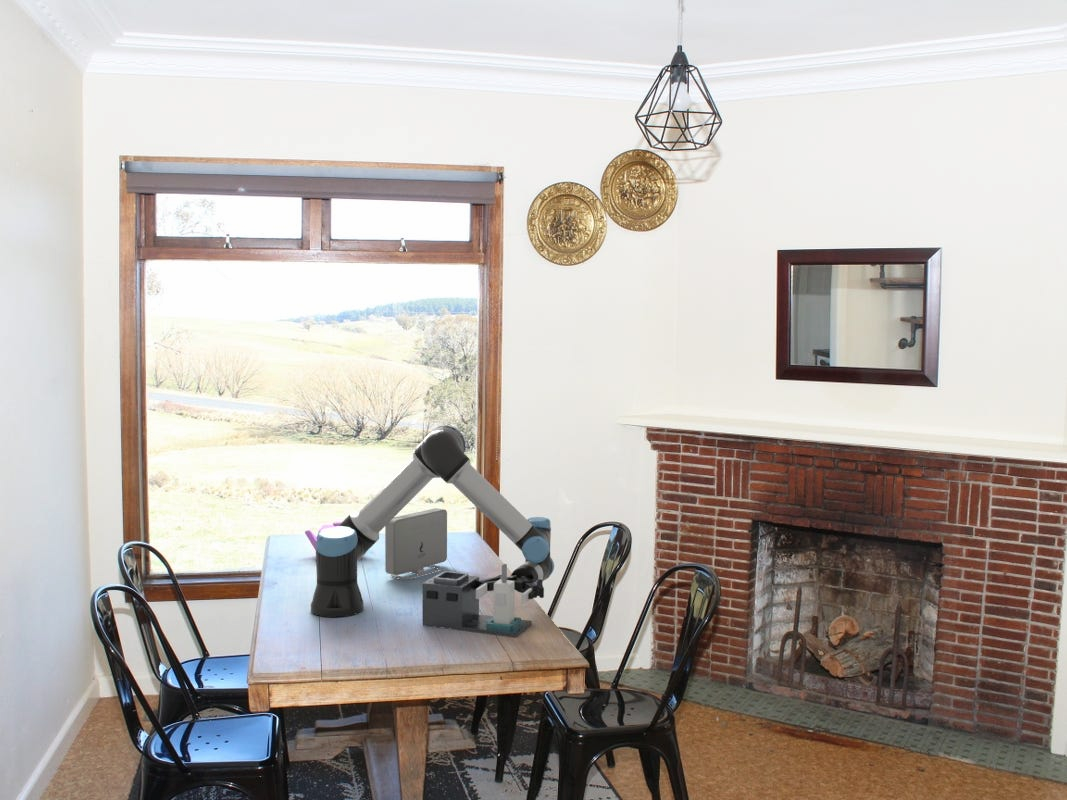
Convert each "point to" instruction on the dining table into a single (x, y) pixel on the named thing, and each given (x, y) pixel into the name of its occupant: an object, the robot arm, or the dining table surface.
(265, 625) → the dining table surface
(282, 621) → the dining table surface
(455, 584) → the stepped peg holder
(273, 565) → the dining table surface
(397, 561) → the network device
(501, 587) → the plug
